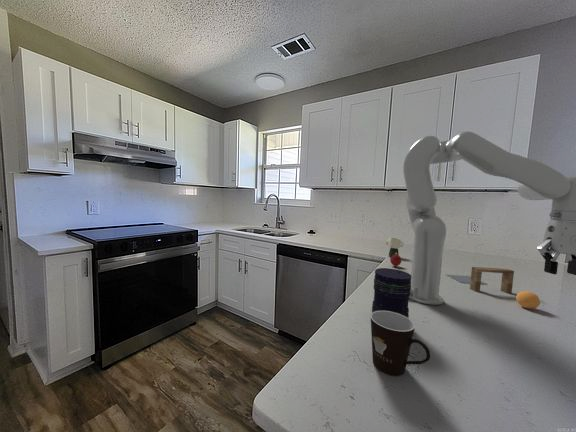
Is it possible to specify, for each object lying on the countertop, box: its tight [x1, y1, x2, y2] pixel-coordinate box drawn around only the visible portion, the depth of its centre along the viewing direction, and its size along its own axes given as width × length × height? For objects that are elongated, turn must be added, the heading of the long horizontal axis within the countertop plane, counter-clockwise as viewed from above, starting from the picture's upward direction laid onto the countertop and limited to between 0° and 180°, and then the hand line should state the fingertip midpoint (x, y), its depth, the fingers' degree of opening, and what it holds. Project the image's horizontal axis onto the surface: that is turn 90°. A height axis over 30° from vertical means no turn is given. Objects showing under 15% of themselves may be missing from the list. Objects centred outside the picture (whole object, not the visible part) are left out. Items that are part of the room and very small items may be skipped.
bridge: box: [469, 266, 515, 294], centre depth 99 cm, size 3×15×10 cm, turn 87°
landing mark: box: [446, 274, 487, 285], centre depth 115 cm, size 12×12×1 cm
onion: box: [389, 253, 402, 268], centre depth 132 cm, size 6×6×8 cm
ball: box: [515, 290, 541, 310], centre depth 84 cm, size 6×6×6 cm
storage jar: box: [371, 267, 411, 319], centre depth 68 cm, size 10×10×15 cm
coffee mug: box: [370, 311, 431, 377], centre depth 48 cm, size 12×9×10 cm
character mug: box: [385, 237, 404, 258], centre depth 157 cm, size 11×7×13 cm, turn 50°
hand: (561, 273), depth 73 cm, fingers open, 6 cm apart
